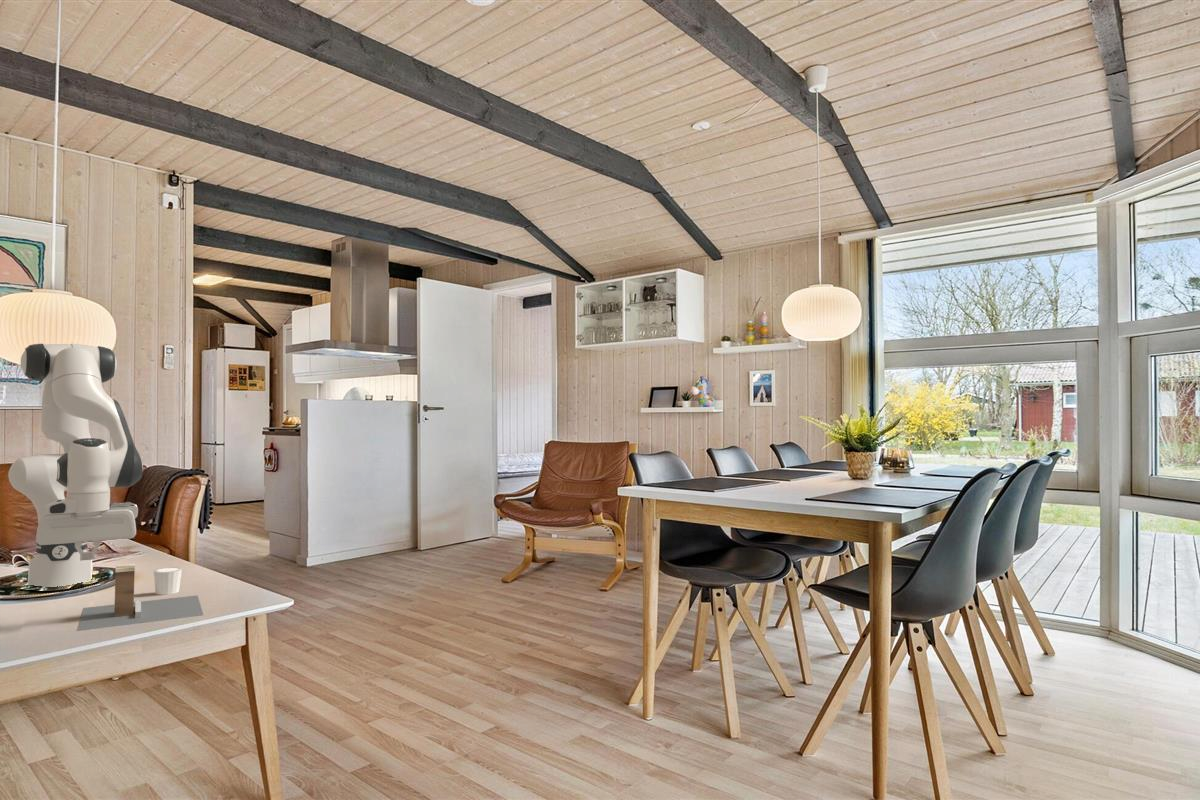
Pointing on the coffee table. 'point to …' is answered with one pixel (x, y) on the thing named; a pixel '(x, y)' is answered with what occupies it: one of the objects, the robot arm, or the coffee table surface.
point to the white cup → (167, 580)
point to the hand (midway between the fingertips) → (87, 559)
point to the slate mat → (141, 612)
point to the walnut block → (124, 590)
